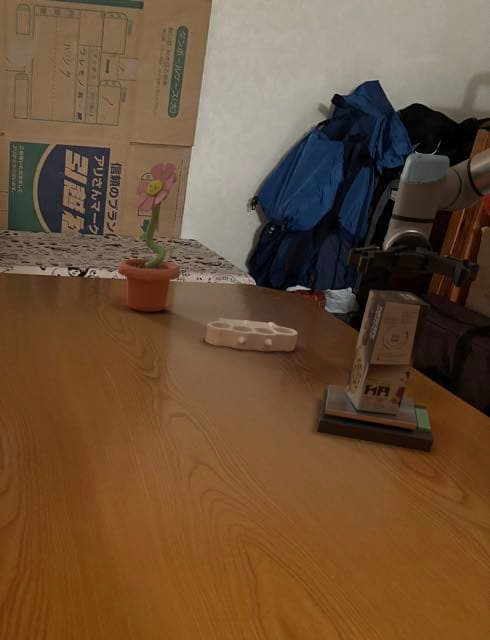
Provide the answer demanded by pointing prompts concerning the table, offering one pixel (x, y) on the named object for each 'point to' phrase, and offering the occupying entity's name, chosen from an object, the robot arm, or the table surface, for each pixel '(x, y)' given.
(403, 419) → the scale pan
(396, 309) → the coffee box
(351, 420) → the scale
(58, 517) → the table surface
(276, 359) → the table surface
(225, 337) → the knuckle duster
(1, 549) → the table surface
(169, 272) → the decorative flower
